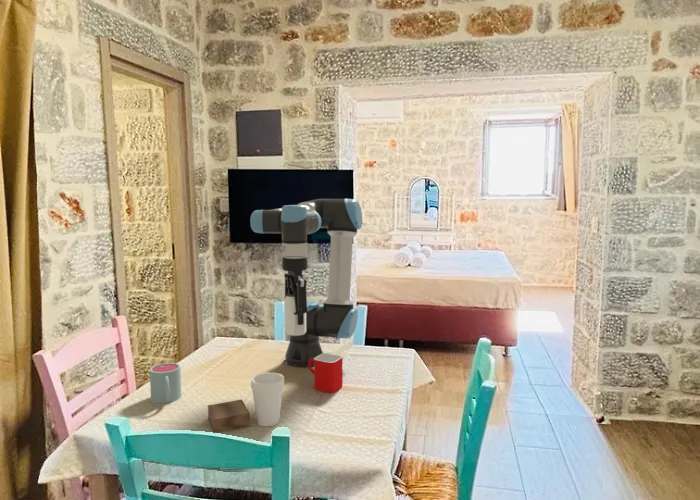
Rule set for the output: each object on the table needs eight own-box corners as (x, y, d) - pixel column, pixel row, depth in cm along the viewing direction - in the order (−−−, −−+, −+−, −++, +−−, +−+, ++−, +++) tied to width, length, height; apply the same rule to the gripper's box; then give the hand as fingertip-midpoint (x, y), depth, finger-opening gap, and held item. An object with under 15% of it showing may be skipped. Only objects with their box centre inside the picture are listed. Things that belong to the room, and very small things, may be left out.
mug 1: (150, 394, 162) (149, 365, 161) (180, 390, 166) (179, 361, 165) (151, 411, 150) (150, 379, 149) (183, 406, 153) (182, 375, 152)
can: (302, 336, 146) (302, 297, 144) (282, 335, 147) (281, 296, 146) (308, 330, 152) (308, 292, 151) (289, 329, 153) (288, 292, 152)
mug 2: (344, 385, 170) (344, 355, 169) (332, 394, 162) (332, 363, 161) (315, 379, 175) (315, 350, 174) (302, 387, 168) (302, 357, 167)
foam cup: (254, 414, 148) (253, 372, 146) (285, 413, 148) (284, 371, 147) (250, 429, 138) (249, 385, 137) (283, 428, 139) (282, 384, 137)
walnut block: (242, 412, 149) (241, 399, 149) (249, 426, 140) (249, 412, 140) (208, 418, 145) (207, 405, 144) (214, 433, 136) (213, 419, 135)
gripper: (273, 253, 154) (274, 325, 157) (293, 261, 137) (294, 342, 139) (296, 252, 157) (297, 322, 160) (318, 260, 140) (318, 338, 143)
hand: (295, 331), depth 150 cm, fingers closed on can, 6 cm apart
